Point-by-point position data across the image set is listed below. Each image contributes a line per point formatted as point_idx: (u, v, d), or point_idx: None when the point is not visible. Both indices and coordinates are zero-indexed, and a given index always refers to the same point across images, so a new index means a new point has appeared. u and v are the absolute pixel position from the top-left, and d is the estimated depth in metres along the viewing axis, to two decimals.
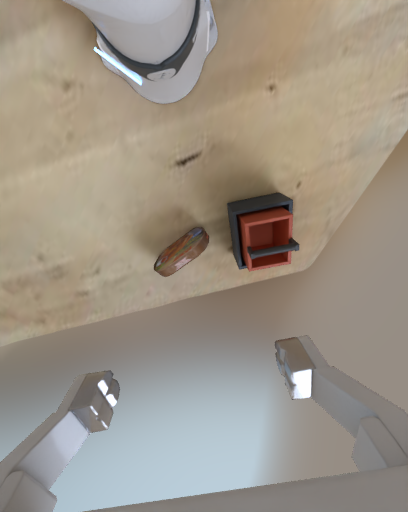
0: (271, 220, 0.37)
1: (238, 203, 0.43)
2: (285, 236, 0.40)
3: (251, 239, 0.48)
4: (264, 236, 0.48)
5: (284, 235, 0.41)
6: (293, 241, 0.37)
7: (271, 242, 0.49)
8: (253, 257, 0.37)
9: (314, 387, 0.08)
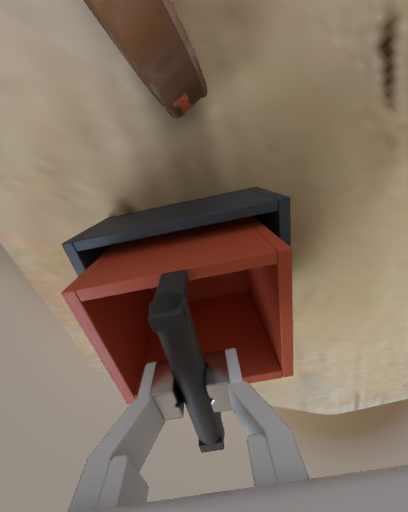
0: (286, 330, 0.11)
1: None
2: None
3: None
4: None
5: None
6: None
7: None
8: (157, 324, 0.07)
9: (230, 401, 0.08)
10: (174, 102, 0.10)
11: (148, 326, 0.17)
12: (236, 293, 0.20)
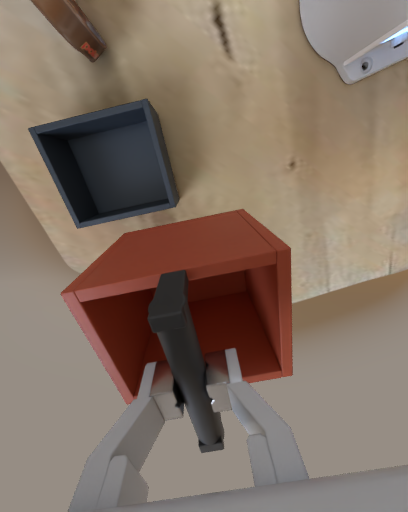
0: (285, 330, 0.11)
1: (159, 129, 0.27)
2: None
3: None
4: None
5: None
6: None
7: None
8: (157, 324, 0.07)
9: (230, 401, 0.08)
10: (80, 46, 0.21)
11: (147, 326, 0.17)
12: (235, 293, 0.20)
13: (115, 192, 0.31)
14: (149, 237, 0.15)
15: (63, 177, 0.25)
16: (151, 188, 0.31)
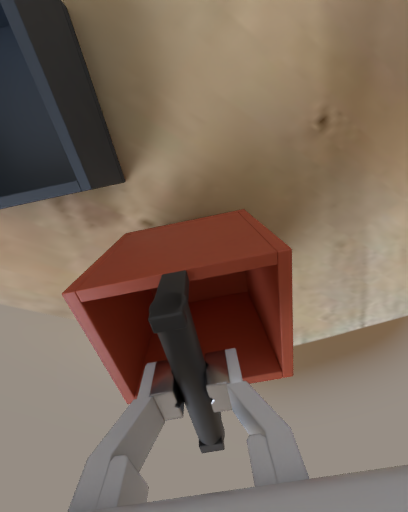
0: (286, 331, 0.11)
1: (62, 28, 0.13)
2: None
3: None
4: None
5: None
6: None
7: None
8: (157, 325, 0.07)
9: (230, 401, 0.08)
10: None
11: (148, 326, 0.17)
12: (236, 293, 0.20)
13: (6, 166, 0.17)
14: (150, 237, 0.15)
15: None
16: None
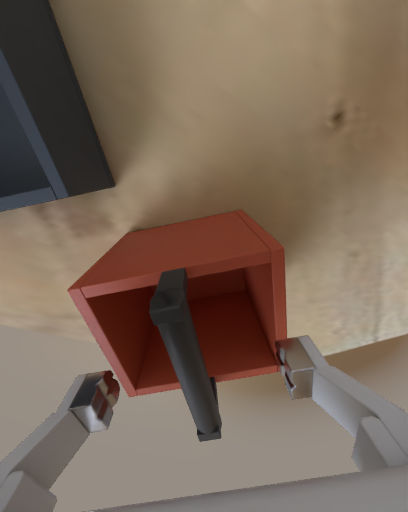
0: (280, 326, 0.11)
1: (35, 5, 0.11)
2: (210, 357, 0.14)
3: None
4: None
5: (209, 351, 0.15)
6: (217, 402, 0.12)
7: None
8: (157, 318, 0.07)
9: (314, 387, 0.08)
10: None
11: (149, 323, 0.18)
12: (235, 291, 0.21)
13: None
14: (150, 237, 0.16)
15: None
16: None
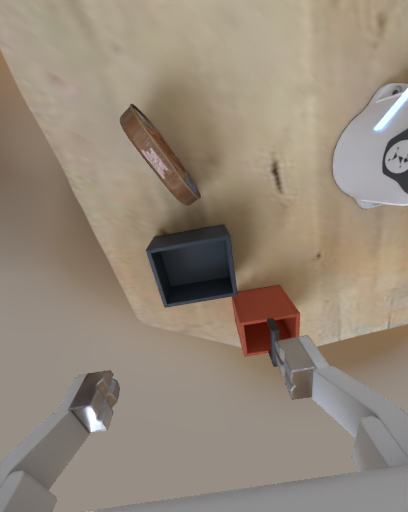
0: (297, 333, 0.38)
1: None
2: (271, 343, 0.40)
3: None
4: None
5: (270, 342, 0.41)
6: None
7: None
8: (273, 332, 0.33)
9: (314, 387, 0.08)
10: (189, 203, 0.31)
11: None
12: None
13: (186, 273, 0.41)
14: (247, 299, 0.42)
15: (159, 274, 0.36)
16: (212, 271, 0.41)
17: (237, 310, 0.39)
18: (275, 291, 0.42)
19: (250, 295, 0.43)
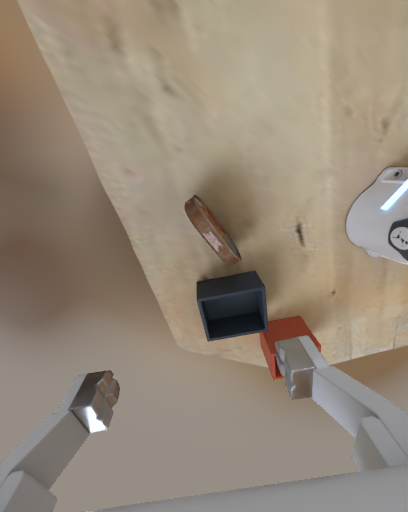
0: None
1: None
2: None
3: None
4: None
5: None
6: None
7: None
8: None
9: (314, 387, 0.08)
10: None
11: None
12: None
13: (221, 309, 0.49)
14: (274, 330, 0.49)
15: (204, 315, 0.43)
16: (244, 307, 0.49)
17: (267, 341, 0.47)
18: (297, 322, 0.50)
19: (276, 326, 0.50)
